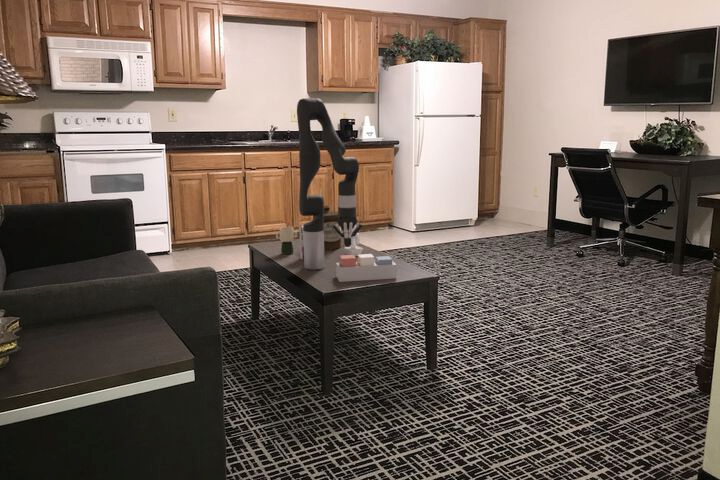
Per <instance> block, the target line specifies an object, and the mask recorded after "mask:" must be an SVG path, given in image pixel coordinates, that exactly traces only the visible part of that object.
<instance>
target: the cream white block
mask: <svg viewBox="0 0 720 480" xmlns="http://www.w3.org/2000/svg"><path fill="white" fill-rule="evenodd" d="M374 261H375V256H374V255H373V254H372V253H364V254H362V253H361V254H359V255H358V256H357V262H358V265H359V266H371V265H374Z"/></svg>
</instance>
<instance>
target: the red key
mask: <svg viewBox="0 0 720 480" xmlns="http://www.w3.org/2000/svg"><path fill="white" fill-rule="evenodd" d="M356 262H357V256H354V255H348V254H344V255H343V254H342V255H339V263H340V266H341V267H354V266H356Z"/></svg>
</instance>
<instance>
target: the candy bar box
mask: <svg viewBox="0 0 720 480" xmlns="http://www.w3.org/2000/svg"><path fill="white" fill-rule="evenodd" d="M298 233H299V234H298V235H299V239H298V240H299V252H300V253H299V258H300V260H302V261H304V235H303V225H299V226H298Z"/></svg>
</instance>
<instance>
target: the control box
mask: <svg viewBox="0 0 720 480" xmlns="http://www.w3.org/2000/svg"><path fill="white" fill-rule="evenodd" d="M335 273H336V274H335V276H336V279H337V280H338V282H340V283H341V282H343V283H344V282H358V281H373V280H374V281H375V280H378V281H379V280H390V279H397V264H396V262H394V261H393V260H392V264H388V265H377V264H376V263H375V260H374V265H371V266H359V265H358V261H356V266H354V267H341V266H340V262H336V263H335Z"/></svg>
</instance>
